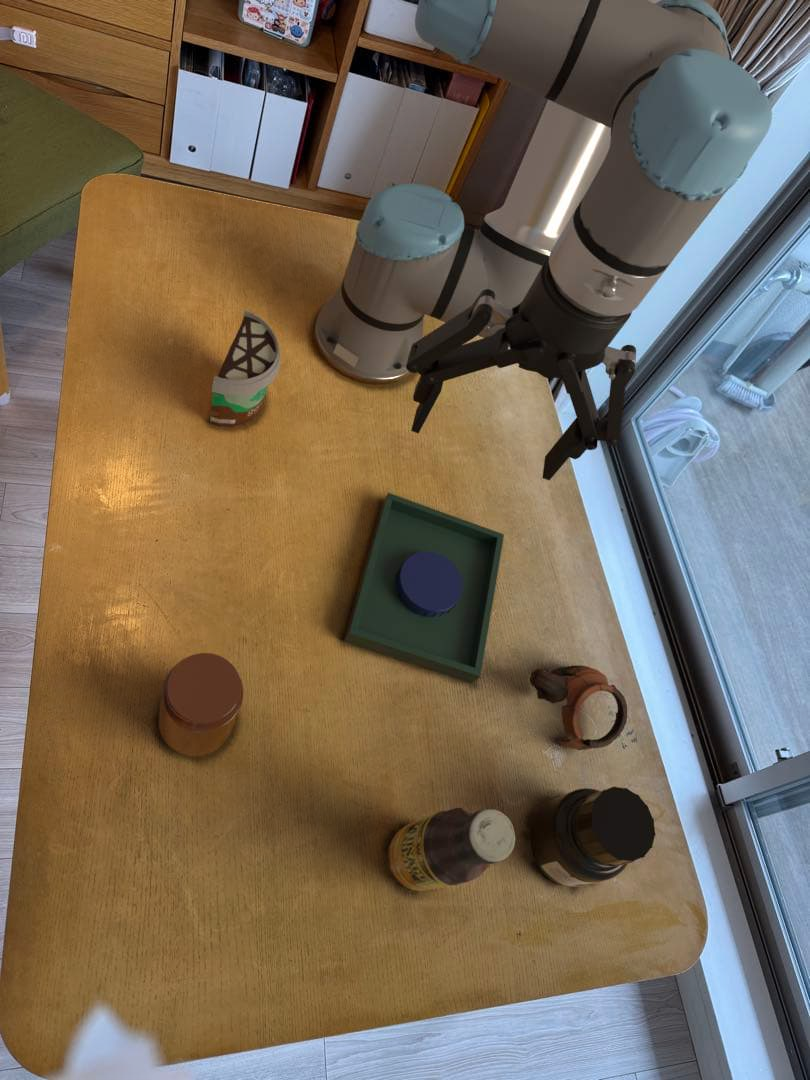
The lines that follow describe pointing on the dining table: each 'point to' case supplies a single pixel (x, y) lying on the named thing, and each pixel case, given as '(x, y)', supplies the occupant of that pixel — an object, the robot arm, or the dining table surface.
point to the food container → (245, 373)
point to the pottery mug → (578, 701)
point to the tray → (405, 634)
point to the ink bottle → (590, 835)
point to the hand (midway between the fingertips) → (483, 445)
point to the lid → (429, 584)
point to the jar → (199, 704)
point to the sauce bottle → (449, 848)
